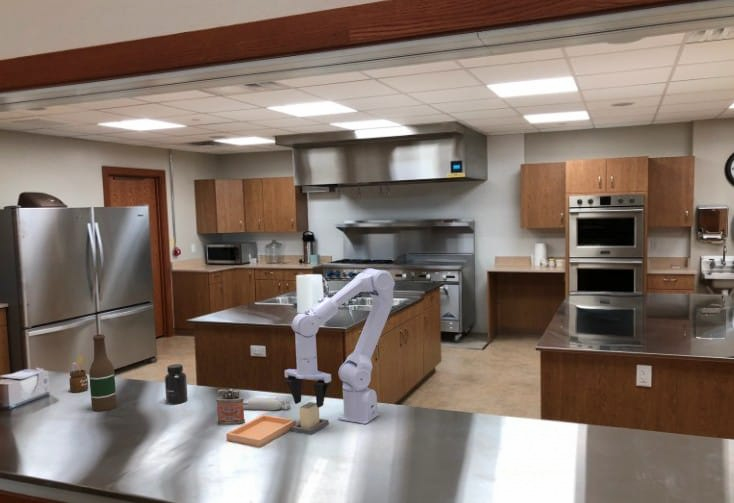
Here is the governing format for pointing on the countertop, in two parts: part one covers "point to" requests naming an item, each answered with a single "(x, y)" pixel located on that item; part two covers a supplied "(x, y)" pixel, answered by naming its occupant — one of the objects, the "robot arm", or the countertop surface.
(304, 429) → the socket
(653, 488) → the countertop surface
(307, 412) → the tan rectangular block
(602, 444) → the countertop surface
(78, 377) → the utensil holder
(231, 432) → the parts tray
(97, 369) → the beer bottle
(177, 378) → the supplement bottle
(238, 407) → the lighter
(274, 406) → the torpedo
